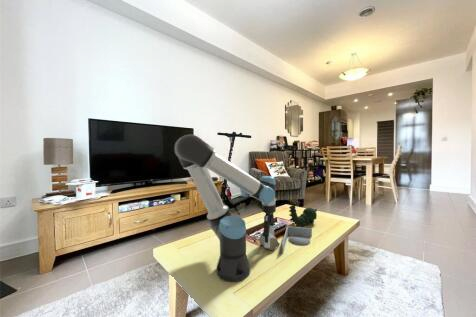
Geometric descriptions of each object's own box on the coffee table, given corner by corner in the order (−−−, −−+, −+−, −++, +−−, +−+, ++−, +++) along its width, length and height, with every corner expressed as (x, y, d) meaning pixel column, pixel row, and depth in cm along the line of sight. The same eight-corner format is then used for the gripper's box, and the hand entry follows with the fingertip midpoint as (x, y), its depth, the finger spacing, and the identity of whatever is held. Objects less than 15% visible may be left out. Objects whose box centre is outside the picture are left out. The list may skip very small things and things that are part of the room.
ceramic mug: (268, 252, 107) (268, 238, 107) (258, 246, 114) (259, 232, 114) (283, 247, 113) (283, 233, 112) (273, 241, 120) (273, 228, 119)
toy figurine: (297, 232, 136) (323, 222, 147) (295, 204, 134) (321, 196, 146) (287, 227, 144) (312, 218, 156) (285, 201, 143) (311, 194, 154)
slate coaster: (310, 246, 112) (310, 245, 112) (287, 243, 116) (287, 242, 116) (310, 237, 124) (310, 236, 124) (289, 235, 128) (289, 234, 128)
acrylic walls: (312, 258, 101) (312, 248, 100) (282, 253, 106) (281, 244, 105) (311, 236, 125) (311, 228, 125) (287, 233, 130) (287, 225, 130)
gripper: (271, 211, 99) (272, 254, 100) (278, 199, 122) (279, 233, 123) (256, 210, 101) (257, 252, 102) (266, 198, 125) (267, 232, 126)
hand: (269, 242), depth 113 cm, fingers open, 13 cm apart
